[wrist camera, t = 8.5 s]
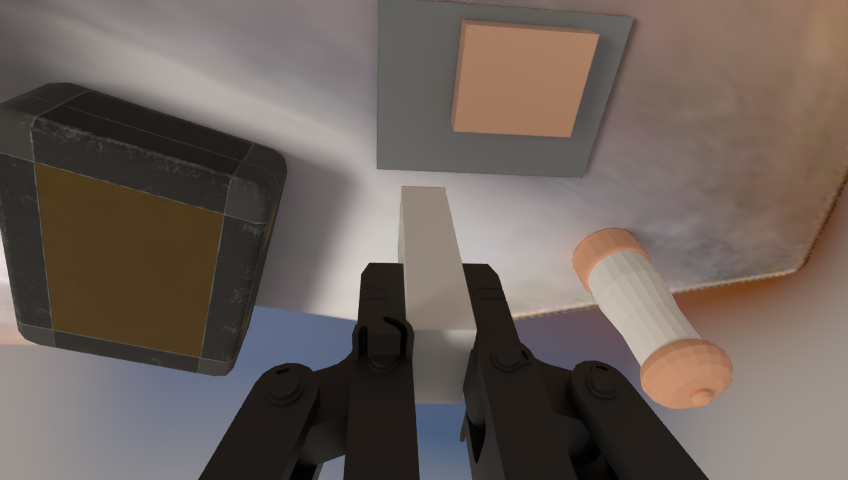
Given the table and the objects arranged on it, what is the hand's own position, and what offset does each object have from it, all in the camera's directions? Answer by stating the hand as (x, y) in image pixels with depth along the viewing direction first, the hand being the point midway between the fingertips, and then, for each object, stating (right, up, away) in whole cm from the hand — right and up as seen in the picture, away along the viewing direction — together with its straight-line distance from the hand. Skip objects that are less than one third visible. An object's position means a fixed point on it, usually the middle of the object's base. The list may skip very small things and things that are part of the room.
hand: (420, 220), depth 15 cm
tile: (+3, +12, +19) cm, 22 cm away
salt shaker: (+21, -2, +34) cm, 39 cm away
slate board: (+6, +12, +22) cm, 26 cm away
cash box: (-26, +1, +28) cm, 39 cm away
